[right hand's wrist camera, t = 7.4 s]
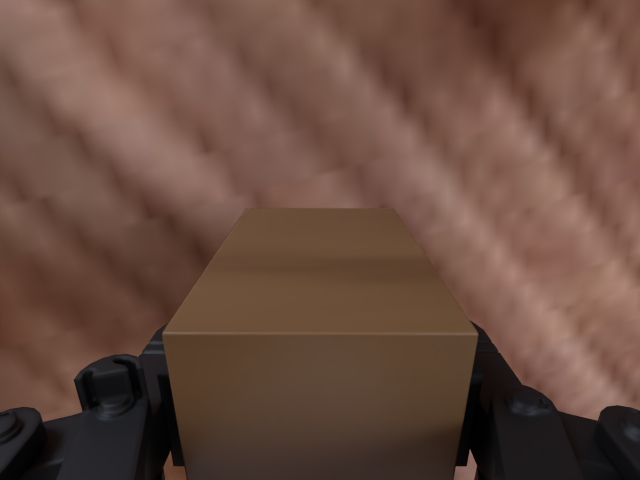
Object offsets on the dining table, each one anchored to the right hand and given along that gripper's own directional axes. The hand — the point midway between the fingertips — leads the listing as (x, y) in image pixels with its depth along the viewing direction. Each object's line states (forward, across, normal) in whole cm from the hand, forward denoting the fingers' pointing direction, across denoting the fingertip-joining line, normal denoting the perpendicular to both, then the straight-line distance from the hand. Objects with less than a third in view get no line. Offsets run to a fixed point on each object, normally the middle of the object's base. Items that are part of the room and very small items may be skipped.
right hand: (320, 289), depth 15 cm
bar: (+1, 0, -8) cm, 9 cm away
